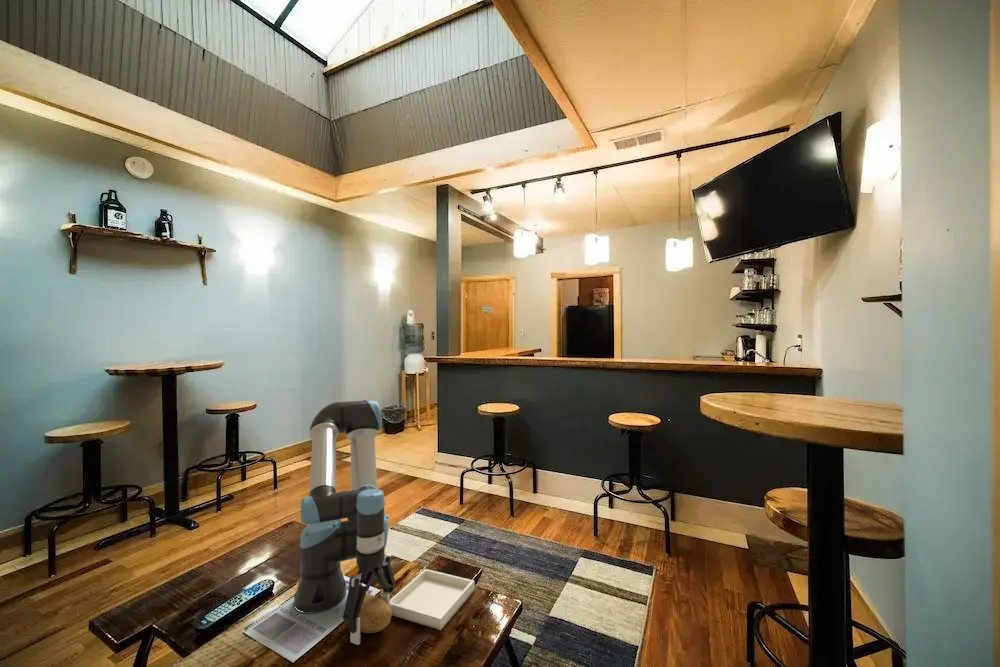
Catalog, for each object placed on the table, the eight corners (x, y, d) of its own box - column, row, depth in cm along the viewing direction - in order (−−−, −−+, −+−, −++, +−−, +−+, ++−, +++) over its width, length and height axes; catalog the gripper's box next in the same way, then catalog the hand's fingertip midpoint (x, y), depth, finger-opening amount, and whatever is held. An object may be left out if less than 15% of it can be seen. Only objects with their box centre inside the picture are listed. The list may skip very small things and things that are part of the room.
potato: (373, 650, 102) (373, 618, 102) (340, 630, 109) (340, 600, 110) (401, 627, 110) (401, 598, 110) (369, 611, 118) (368, 583, 118)
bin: (386, 613, 116) (386, 602, 116) (425, 577, 134) (425, 568, 135) (440, 630, 108) (440, 619, 109) (474, 590, 127) (474, 580, 127)
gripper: (349, 571, 99) (349, 662, 97) (407, 532, 120) (408, 606, 119) (327, 565, 102) (327, 654, 100) (387, 528, 123) (388, 601, 122)
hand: (370, 628), depth 110 cm, fingers open, 11 cm apart
